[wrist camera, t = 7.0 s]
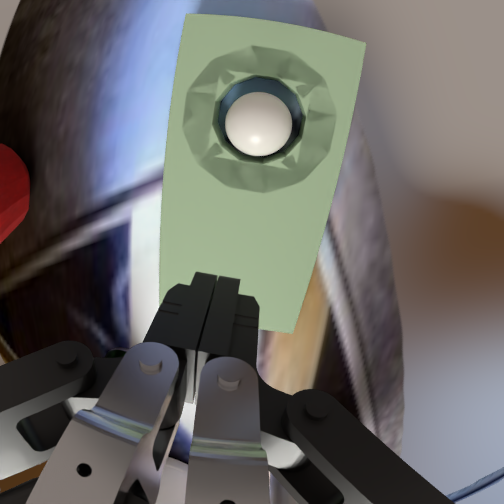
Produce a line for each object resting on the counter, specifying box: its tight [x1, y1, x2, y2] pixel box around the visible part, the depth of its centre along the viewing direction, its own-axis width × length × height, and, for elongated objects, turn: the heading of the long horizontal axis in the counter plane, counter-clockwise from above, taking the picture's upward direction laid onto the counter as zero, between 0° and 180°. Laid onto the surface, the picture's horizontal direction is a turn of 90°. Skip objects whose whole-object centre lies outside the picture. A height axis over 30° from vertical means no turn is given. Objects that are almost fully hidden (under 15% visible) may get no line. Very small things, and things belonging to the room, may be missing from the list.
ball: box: [225, 92, 292, 156], centre depth 19 cm, size 4×4×4 cm
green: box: [159, 14, 366, 334], centre depth 22 cm, size 24×12×2 cm, turn 171°
